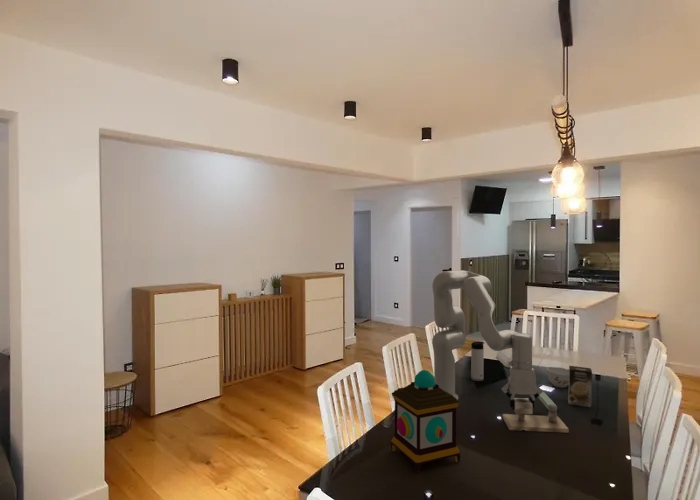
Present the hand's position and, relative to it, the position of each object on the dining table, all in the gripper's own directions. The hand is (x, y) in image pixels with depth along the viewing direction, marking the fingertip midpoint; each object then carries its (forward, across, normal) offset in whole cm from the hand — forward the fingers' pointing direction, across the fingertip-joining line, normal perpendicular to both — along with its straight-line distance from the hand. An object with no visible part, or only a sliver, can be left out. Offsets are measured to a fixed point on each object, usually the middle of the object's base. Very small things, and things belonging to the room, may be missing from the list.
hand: (521, 408), depth 178 cm
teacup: (+7, +32, +51) cm, 61 cm away
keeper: (0, +12, +7) cm, 14 cm away
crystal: (+7, +15, +90) cm, 92 cm away
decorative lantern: (+7, -40, -31) cm, 51 cm away
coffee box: (+7, +32, +26) cm, 42 cm away
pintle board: (+6, +5, 0) cm, 8 cm away
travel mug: (+6, -8, +56) cm, 57 cm away
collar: (+1, 0, 0) cm, 1 cm away
